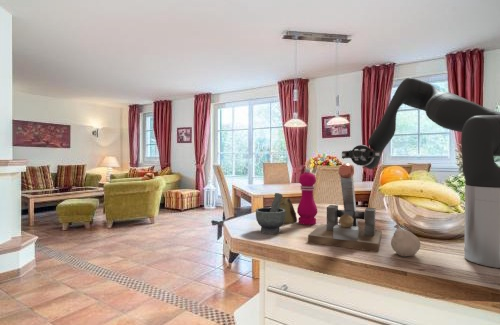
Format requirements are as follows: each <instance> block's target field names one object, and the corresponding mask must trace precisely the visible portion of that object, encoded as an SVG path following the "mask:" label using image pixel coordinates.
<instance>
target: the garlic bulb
mask: <svg viewBox="0 0 500 325" xmlns="http://www.w3.org/2000/svg"><path fill="white" fill-rule="evenodd" d="M393 228H395V229H396V230H395V231H394V232H393V235H392V238H391V242H390V245H391V248H392V250H393V251H395V252H396V254H397V255H399V256H400V257H410V256H415V255H416V254H417V253H418V252H419V250H420V249H421V240H420V239H419V238H418V236H416V235H415V234H414V233H413V232H411V231H409V230H407V229H406V230H405V229H403V228H401V226H400V225H399V224H398V223H397V224H395V225H394V226H393Z"/></svg>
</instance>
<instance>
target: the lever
mask: <svg viewBox="0 0 500 325" xmlns="http://www.w3.org/2000/svg"><path fill="white" fill-rule="evenodd" d="M337 171H338V175H339V176H340V178H339V179H340V185H341V187H340V188H341V194H342V202H343V209H338V210H337V217H338V218H340V217H341V216H342V215H345V214H347V215H350V216H351V217H352V218H353V225H352V226H355V227H358V226H359V224H358V223H359V220H365V211H359V210H357V204H356V193H355V192H356V191H355V184H354V173H355V168H354V167H353V165H351V164H350V163H343V164H341V165H340V166H339V167H338V170H337Z"/></svg>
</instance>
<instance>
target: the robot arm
mask: <svg viewBox="0 0 500 325" xmlns="http://www.w3.org/2000/svg"><path fill="white" fill-rule="evenodd" d="M402 105H405V106H409V107H411V108H414V109H418V110H421V111H424V112H425V114H426V116H427V117H428V119H429V120H430V121H432V122H433V123H435V124H436V125H438V126H439V127H442V128H444V129H447V130H451V131H453V132H457V133H461V138H460V139H461V140H460V142H461V158H462V162H461V167H462V173H463V176H464V180H465V182H464V184H465V186H464V245H463V246H464V247H463V248H464V249H463V251H464V255H463V257H464V258H465V260H467V261H469V262H471V263H474V264H477V265H481V266H485V267H490V268H496V269H500V166H499V165H497V164H496V162H495V157H500V111H496V110H494V109H490V108H487V107H485V106H482V105H480V104H478V103H476V102H474V101H472V100H471V101H470V100H469V99H466V98H465V97H462V96H459V95H457V94H455V93H452V92H448V91H441V90H439V88H436V87H435V86H434V85H433V84H431V83H429V82H425V81H423V80H420V79H417V78H415V77H410V76H409V77H405V78H404V79H403V80H402V81H401V82H400V84H399V85H398V87H397V88H396V90H395V92H394V94H393V96H392V98H391V99H390V102H389V103H388V105H387V107H386V110H385V112H384V114H383V116H382V118H381V120H380V122H379V123H378V125H377V127H376V128H375V130H374V131H373V132H372V134H371V135H370V137H369V138H368V140H367V144H368V146H367V145H364V144H359V145H356V146H355V147H353V148H352V150H351V149H350V150H345V151H344V150H342V151H341V159H342V160H343V159H351V161H352V163H353V164H355V165H357V166H361V167H365V168H366V169H368V170H372V169H374V168H377V166H378V165H379V163H380V160H381V158H382V154H383V152H384V150H385V148H386V147H387V146H388V144H389V143H390V141H392V138H393V137H394V135H395V133H396V127H397V126H396V125H397V123H396V122H397V115H398V114H397V113H398V112H399V109H400V108H401V106H402Z"/></svg>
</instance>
